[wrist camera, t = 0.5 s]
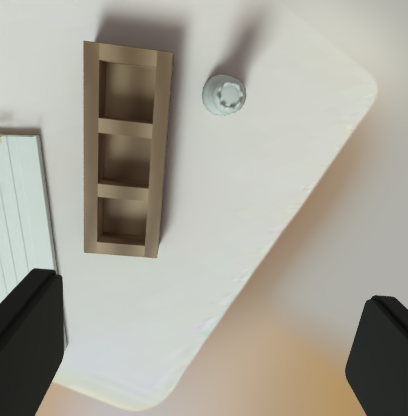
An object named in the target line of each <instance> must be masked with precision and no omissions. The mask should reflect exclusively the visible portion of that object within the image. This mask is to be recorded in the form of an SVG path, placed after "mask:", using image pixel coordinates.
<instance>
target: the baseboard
mask: <svg viewBox="0 0 408 416" xmlns="http://www.w3.org/2000/svg"><path fill="white" fill-rule="evenodd" d="M34 268H40V269H52V270H55V271H56V273H57V265H56V258H55V250H54V242H53V235H52V227H51V219H50V212H49V204H48V197H47V189H46V181H45V174H44V166H43V158H42V151H41V143H40V135H16V134H0V303H1V302H2V301H3V300H4V299H5V298H6V296H7V295H8V294H9V293H10V292H11V291H12V290H13V289H14V288H15V287H16V286H17V285H18V284H19V283H20V282H21V281H22V280H23V279H24V277H25V276H26V275H27V274H28V273H29V272H30V271H31V270H32V269H34ZM57 275H58V273H57ZM63 320H64V319H63ZM66 348H67V342H66V334H65V327H64V351H65V350H66Z"/></svg>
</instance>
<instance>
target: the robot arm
mask: <svg viewBox="0 0 408 416" xmlns="http://www.w3.org/2000/svg"><path fill="white" fill-rule="evenodd" d="M63 355H64V320H63V282H62V276H61V275H57V273H56V271H55V270H52V269H40V268H34V269H32V270H31V271H30V272H29V273H28V274H27V275H26V276H25V277H24V279H23V280H22V281H21V282H20V283H19V284H18V285H17V286H16V287H15V288H14V289H13V290H12V291H11V292H10V293H9V294H8V295H7V296H6V298H5V299H4V300H3V301H2V302H1V303H0V416H35V414H36V412H37V410H38V408H39V406H40V404H41V402H42V400H43V398H44V396H45V394H46V392H47V390H48V388H49V386H50V384H51V382H52V380H53V378H54V376H55V374H56V372H57V370H58V368H59V366H60V364H61V362H62V359H63ZM345 373H346V378H347V380H348V382H349V384H350V386H351V388H352V390H353V392H354V393H355V395H356V397H357V399H358V401H359V402H360V404H361V406H362V408H363V409H364V411H365V413H366V415H367V416H408V309H406V307H405V306H403V305H402V304H401V303H400V302H399V301H398V300H397V299H396V298H395V297H389V296H377V295H375V296H373V297H372V298H371V299H370V300H367V301H366V303H365V306H364V309H363V312H362V316H361V319H360V322H359V326H358V329H357V332H356V335H355V339H354V342H353V345H352V348H351V351H350V355H349V358H348V361H347V364H346V369H345Z"/></svg>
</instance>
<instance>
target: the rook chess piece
mask: <svg viewBox="0 0 408 416" xmlns="http://www.w3.org/2000/svg"><path fill="white" fill-rule="evenodd" d="M202 99H203V104H204V105H205V107H206V109H207V110H208V111H209V112H211V113H212V114H214V115H218V116H225V115H229V114H231V113H235V112H237V111H238V110H240V109H241V108H242V106H243V105H244V103H245V99H246V89H245V87H244V85H243V84H242V82H240V81H239V80H238V79H237V78H233V77H231V76H228V75H224V74H221V75H216V76H214V77H212V78H211V79H209V80H208V81H207V83H206V84H205V86H204V87H203V92H202Z"/></svg>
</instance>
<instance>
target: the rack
mask: <svg viewBox="0 0 408 416" xmlns="http://www.w3.org/2000/svg"><path fill="white" fill-rule="evenodd" d="M173 60H174V56H173V53H172V52H165V51H157V50H150V49H142V48H135V47H127V46H120V45H112V44H104V43H97V42H89V41H84V253H97V254H110V255H123V256H136V257H149V258H157V254H158V248H159V239H160V226H161V213H162V201H163V188H164V175H165V162H166V149H167V137H168V124H169V111H170V98H171V86H172V73H173Z"/></svg>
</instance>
